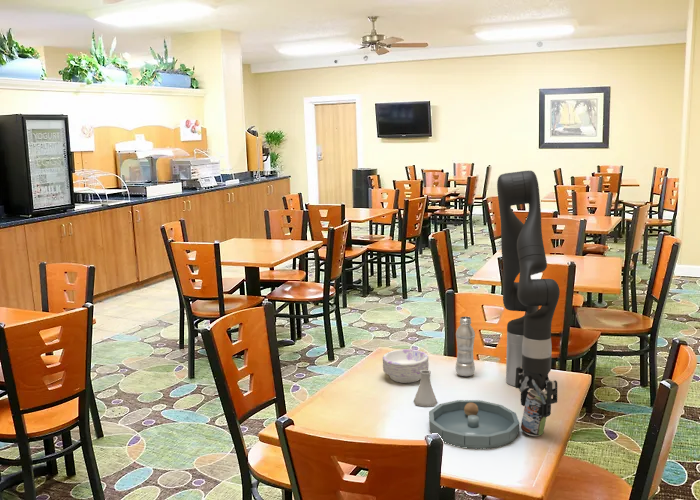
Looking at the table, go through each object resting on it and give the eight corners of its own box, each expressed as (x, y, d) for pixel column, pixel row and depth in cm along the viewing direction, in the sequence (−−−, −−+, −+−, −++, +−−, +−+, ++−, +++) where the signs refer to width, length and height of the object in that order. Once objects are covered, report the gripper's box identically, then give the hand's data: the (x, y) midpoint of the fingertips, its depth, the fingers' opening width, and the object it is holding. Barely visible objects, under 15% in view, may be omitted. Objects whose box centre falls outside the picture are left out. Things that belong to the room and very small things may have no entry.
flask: (436, 408, 201) (436, 376, 199) (412, 406, 203) (412, 375, 201) (438, 399, 208) (438, 368, 206) (414, 397, 210) (414, 366, 208)
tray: (483, 405, 202) (483, 394, 202) (536, 437, 181) (536, 424, 180) (413, 421, 192) (413, 409, 192) (461, 456, 171) (461, 443, 170)
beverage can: (517, 429, 186) (518, 388, 184) (543, 428, 186) (544, 386, 184) (525, 439, 179) (526, 396, 177) (552, 438, 180) (553, 395, 178)
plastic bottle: (477, 373, 229) (477, 316, 226) (471, 379, 223) (472, 321, 220) (458, 370, 232) (458, 314, 229) (452, 377, 226) (453, 319, 223)
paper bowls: (374, 381, 224) (374, 358, 222) (396, 367, 237) (396, 346, 235) (416, 389, 216) (416, 366, 215) (436, 375, 229) (436, 352, 227)
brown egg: (472, 412, 195) (473, 399, 194) (481, 417, 191) (481, 404, 191) (461, 415, 193) (461, 401, 193) (469, 420, 190) (469, 406, 189)
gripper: (566, 358, 174) (564, 417, 177) (530, 343, 187) (528, 399, 190) (543, 363, 171) (542, 423, 174) (508, 347, 184) (507, 404, 187)
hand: (535, 410), depth 182 cm, fingers open, 8 cm apart
